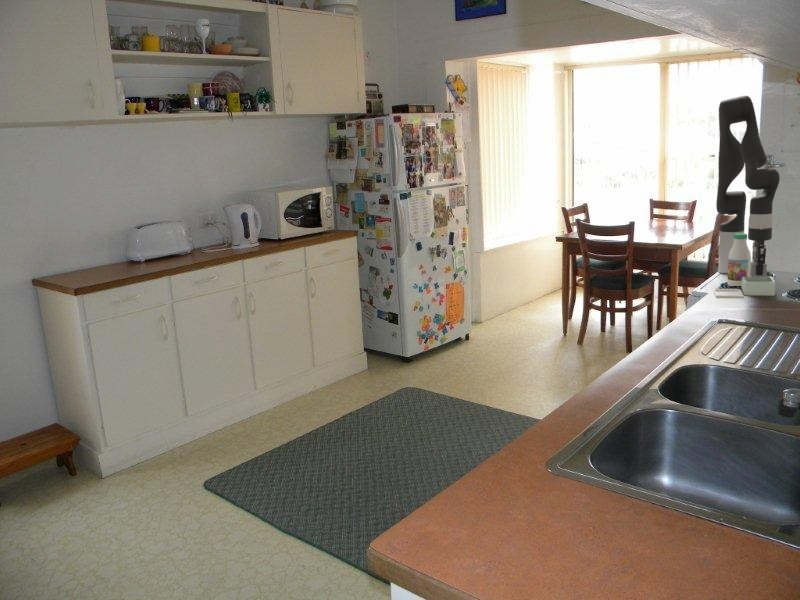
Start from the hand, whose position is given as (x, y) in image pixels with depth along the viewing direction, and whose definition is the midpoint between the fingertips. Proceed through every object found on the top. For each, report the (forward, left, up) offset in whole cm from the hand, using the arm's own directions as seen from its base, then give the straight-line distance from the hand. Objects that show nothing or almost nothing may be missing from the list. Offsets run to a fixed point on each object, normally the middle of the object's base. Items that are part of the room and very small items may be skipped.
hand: (758, 273), depth 248 cm
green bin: (0, 0, -8) cm, 8 cm away
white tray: (+3, -10, -8) cm, 13 cm away
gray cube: (0, 0, -1) cm, 1 cm away
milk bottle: (-13, -5, -8) cm, 16 cm away
